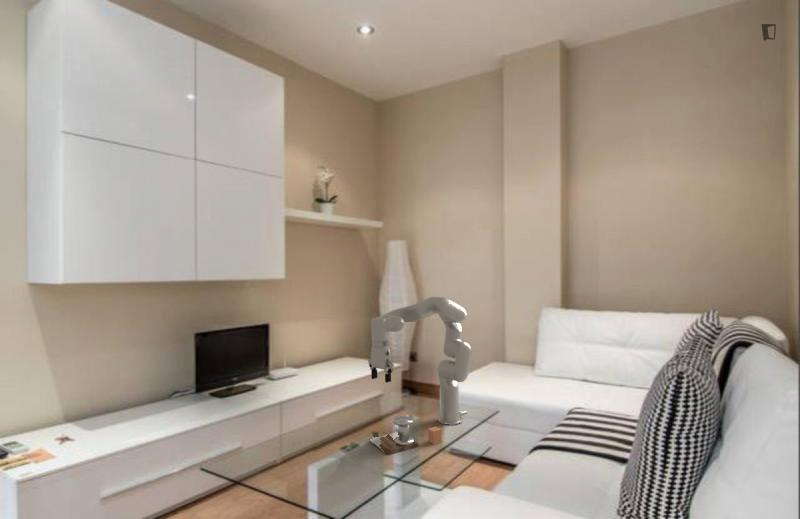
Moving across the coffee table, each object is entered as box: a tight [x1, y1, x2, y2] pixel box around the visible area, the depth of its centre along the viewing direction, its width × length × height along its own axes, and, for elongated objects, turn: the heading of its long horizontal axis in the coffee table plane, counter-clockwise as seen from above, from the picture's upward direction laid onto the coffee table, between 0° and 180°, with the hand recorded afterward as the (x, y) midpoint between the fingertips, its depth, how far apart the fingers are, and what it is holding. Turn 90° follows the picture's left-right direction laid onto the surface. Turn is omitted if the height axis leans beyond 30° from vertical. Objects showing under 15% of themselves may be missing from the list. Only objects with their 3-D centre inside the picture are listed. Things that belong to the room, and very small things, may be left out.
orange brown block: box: [427, 426, 442, 446], centre depth 206 cm, size 4×4×6 cm
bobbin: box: [393, 415, 415, 446], centre depth 204 cm, size 9×9×10 cm
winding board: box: [371, 430, 419, 456], centre depth 206 cm, size 16×18×4 cm
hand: (381, 380), depth 210 cm, fingers open, 9 cm apart
